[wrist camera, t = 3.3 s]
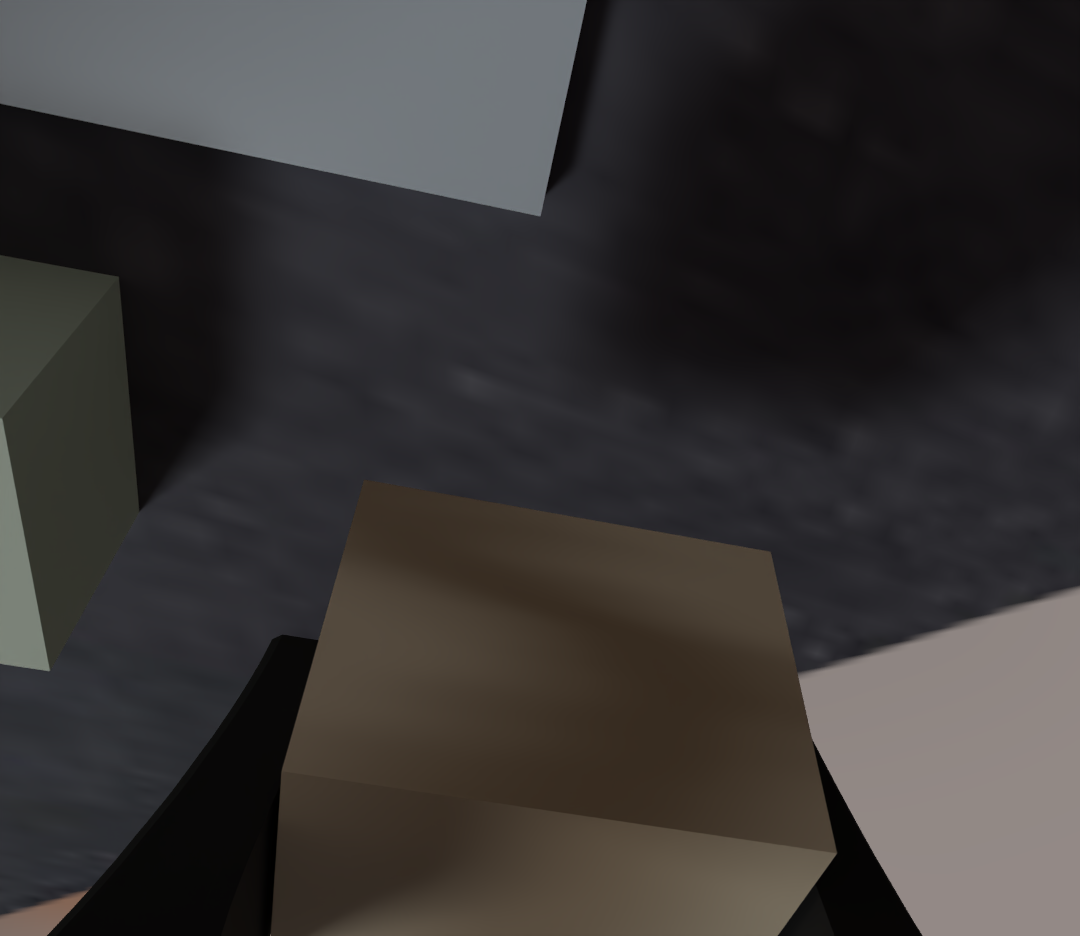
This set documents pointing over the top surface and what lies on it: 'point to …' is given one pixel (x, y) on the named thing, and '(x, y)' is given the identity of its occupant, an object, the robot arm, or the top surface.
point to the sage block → (59, 451)
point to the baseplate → (315, 82)
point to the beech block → (546, 735)
